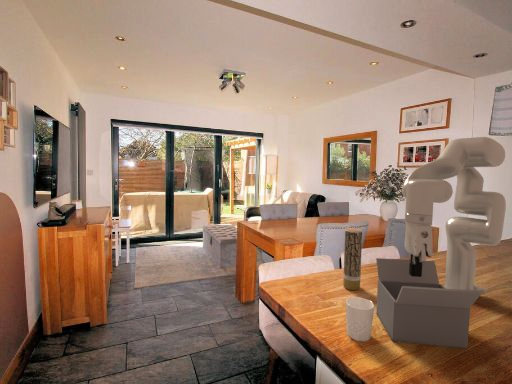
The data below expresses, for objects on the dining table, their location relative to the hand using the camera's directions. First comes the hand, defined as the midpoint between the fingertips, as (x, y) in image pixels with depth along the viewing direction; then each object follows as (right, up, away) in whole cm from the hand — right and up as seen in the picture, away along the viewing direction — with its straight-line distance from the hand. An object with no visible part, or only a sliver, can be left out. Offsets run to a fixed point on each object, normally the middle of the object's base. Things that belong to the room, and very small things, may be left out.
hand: (415, 275), depth 90 cm
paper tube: (-10, -14, +30) cm, 34 cm away
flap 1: (+1, 0, +7) cm, 7 cm away
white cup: (-20, -17, -5) cm, 27 cm away
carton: (-1, -16, -2) cm, 16 cm away
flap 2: (-2, -2, -13) cm, 13 cm away
